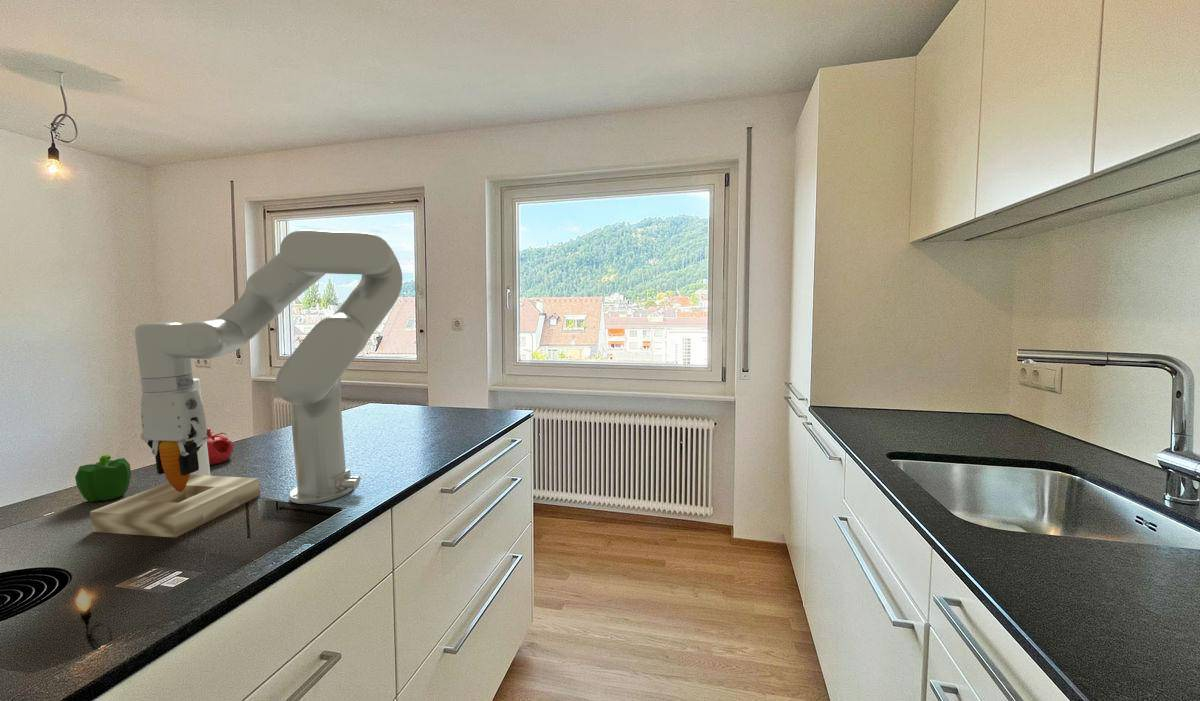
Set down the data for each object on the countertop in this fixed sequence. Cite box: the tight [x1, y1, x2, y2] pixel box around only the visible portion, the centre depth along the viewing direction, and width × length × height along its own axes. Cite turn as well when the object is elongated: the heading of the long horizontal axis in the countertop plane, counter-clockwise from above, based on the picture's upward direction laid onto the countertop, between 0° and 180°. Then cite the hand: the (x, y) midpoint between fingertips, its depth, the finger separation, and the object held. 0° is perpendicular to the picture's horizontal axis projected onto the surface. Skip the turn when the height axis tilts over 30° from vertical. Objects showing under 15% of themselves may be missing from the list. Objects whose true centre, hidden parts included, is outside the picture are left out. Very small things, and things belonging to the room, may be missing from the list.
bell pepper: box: [74, 454, 132, 503], centre depth 100 cm, size 8×8×10 cm
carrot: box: [159, 441, 190, 492], centre depth 92 cm, size 5×5×15 cm
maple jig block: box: [89, 475, 261, 538], centre depth 94 cm, size 18×18×4 cm
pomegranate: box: [206, 427, 235, 466], centre depth 122 cm, size 10×10×9 cm
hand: (178, 471), depth 93 cm, fingers closed on carrot, 4 cm apart
